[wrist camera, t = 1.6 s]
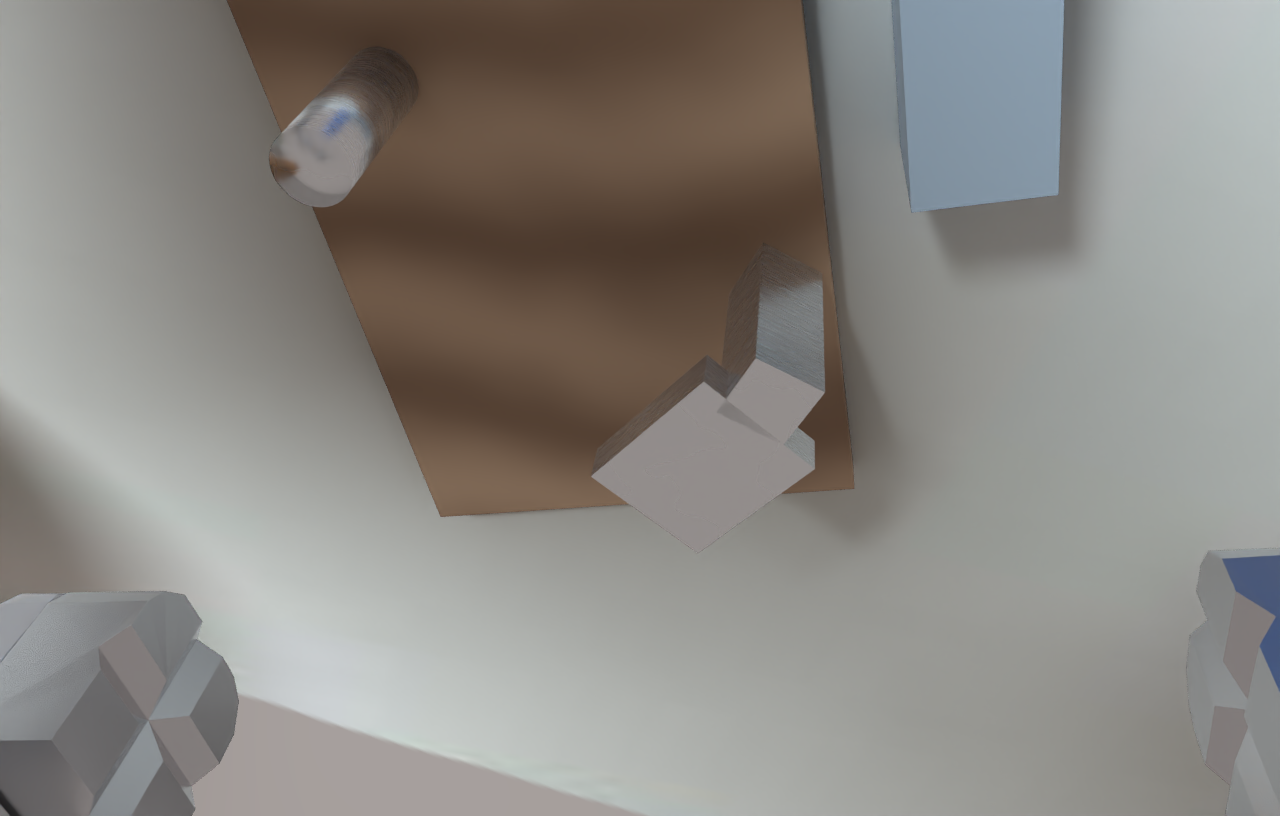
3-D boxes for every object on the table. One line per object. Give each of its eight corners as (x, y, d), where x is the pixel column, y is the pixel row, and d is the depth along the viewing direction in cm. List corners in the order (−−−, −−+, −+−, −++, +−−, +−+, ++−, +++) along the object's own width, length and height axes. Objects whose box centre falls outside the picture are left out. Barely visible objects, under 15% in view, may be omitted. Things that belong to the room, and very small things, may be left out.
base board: (195, -138, 28) (173, -128, 27) (773, -265, 25) (772, -258, 24) (448, 495, 41) (440, 516, 40) (853, 465, 37) (854, 488, 37)
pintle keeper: (311, 116, 31) (222, 213, 26) (437, -64, 27) (361, 9, 23) (711, 426, 36) (697, 553, 31) (860, 306, 32) (870, 429, 28)
